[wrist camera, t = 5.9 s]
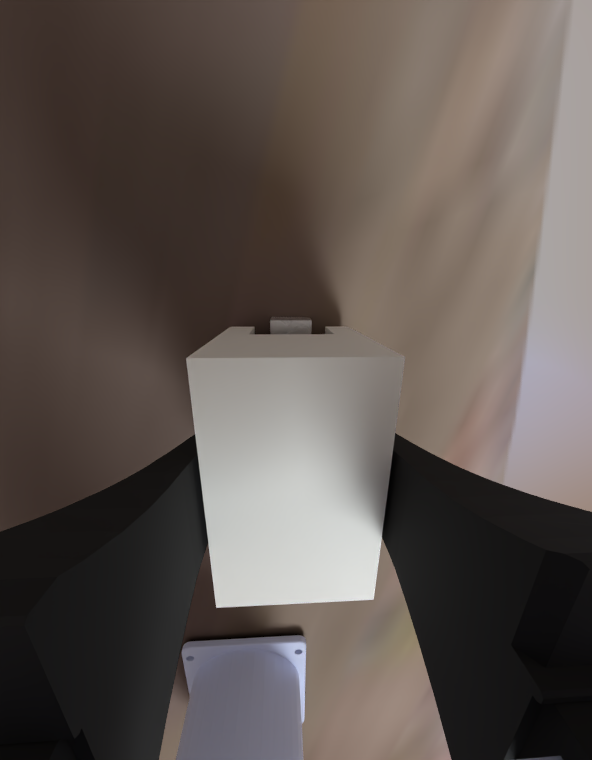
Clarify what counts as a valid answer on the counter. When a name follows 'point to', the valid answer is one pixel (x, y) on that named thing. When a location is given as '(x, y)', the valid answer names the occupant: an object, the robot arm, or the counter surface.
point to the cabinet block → (294, 462)
